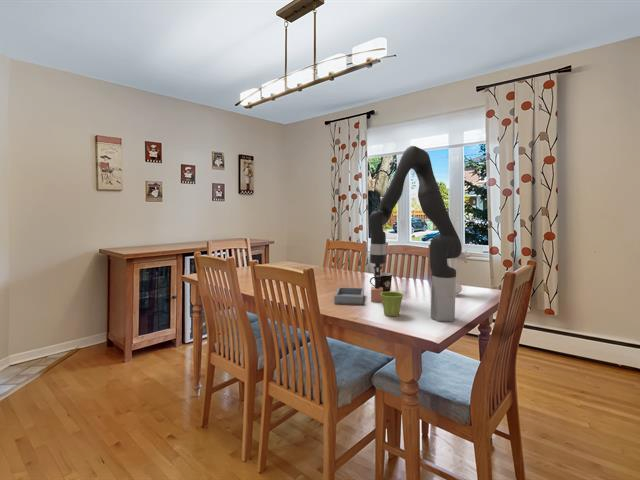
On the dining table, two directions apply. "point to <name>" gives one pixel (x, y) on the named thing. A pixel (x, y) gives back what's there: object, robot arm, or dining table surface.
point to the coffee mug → (385, 281)
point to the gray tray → (349, 296)
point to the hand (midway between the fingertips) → (377, 286)
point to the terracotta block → (376, 294)
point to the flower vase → (453, 265)
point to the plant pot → (391, 303)
